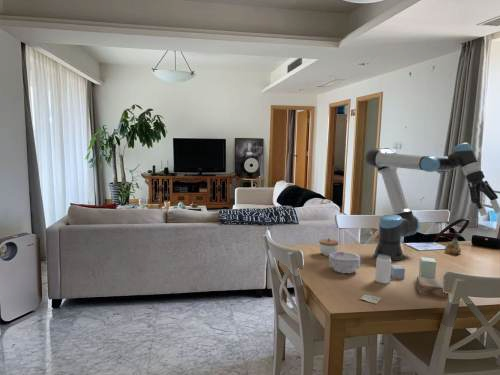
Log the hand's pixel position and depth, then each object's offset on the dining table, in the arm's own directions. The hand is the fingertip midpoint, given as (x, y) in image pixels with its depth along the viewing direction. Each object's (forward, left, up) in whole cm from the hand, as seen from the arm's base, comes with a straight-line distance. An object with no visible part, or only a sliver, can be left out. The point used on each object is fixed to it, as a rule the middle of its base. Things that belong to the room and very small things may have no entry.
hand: (491, 214), depth 176 cm
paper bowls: (-66, -14, -32) cm, 75 cm away
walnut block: (-28, -28, -31) cm, 51 cm away
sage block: (-28, -14, -31) cm, 44 cm away
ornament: (-6, +40, -32) cm, 51 cm away
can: (-48, -23, -31) cm, 62 cm away
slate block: (-41, -14, -31) cm, 54 cm away
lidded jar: (-76, +11, -32) cm, 83 cm away
